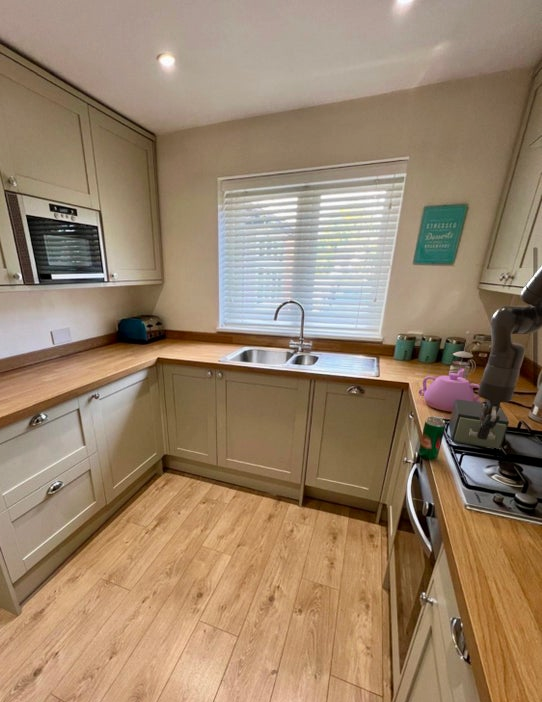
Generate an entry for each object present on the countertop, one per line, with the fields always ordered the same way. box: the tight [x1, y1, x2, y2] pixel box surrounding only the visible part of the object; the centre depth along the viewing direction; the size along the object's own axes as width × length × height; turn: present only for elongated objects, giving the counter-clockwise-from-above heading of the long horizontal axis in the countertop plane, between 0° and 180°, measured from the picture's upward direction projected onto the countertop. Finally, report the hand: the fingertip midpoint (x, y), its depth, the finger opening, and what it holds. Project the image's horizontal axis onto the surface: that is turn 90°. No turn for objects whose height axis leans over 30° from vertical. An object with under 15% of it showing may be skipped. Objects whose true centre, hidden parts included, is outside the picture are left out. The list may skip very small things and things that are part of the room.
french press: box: [448, 330, 477, 380], centre depth 158 cm, size 10×12×25 cm
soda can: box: [417, 416, 447, 461], centre depth 95 cm, size 5×5×12 cm
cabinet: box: [448, 399, 510, 450], centre depth 107 cm, size 15×13×10 cm
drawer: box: [454, 417, 506, 449], centre depth 104 cm, size 18×11×8 cm, turn 151°
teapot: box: [418, 368, 482, 413], centre depth 132 cm, size 22×22×14 cm
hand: (481, 438), depth 96 cm, fingers closed
